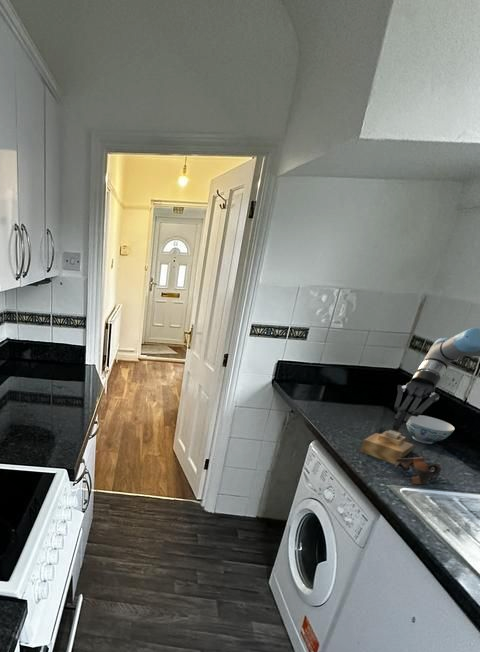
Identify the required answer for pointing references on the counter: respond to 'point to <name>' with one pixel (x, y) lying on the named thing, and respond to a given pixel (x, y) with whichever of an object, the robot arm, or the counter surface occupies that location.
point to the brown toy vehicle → (419, 468)
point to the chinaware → (428, 429)
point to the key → (393, 434)
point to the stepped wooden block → (386, 447)
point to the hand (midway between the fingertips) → (395, 428)
